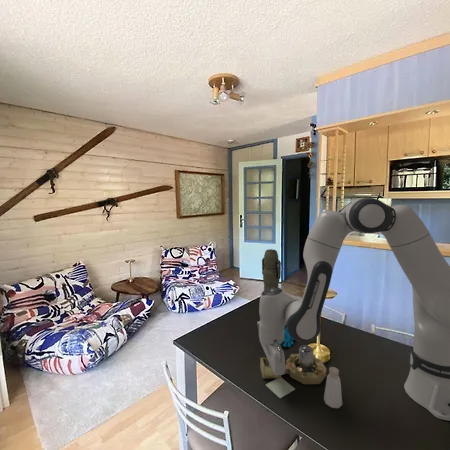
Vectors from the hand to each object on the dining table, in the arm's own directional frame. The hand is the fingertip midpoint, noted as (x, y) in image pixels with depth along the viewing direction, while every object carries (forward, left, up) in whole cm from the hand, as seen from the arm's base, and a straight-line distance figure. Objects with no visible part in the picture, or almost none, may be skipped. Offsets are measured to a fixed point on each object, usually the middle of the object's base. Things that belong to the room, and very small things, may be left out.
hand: (270, 368), depth 93 cm
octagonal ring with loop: (-7, -4, -2) cm, 8 cm away
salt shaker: (-21, +3, -3) cm, 21 cm away
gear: (0, -22, -3) cm, 22 cm away
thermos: (+15, -49, -3) cm, 51 cm away
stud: (-11, -7, -2) cm, 13 cm away
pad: (-5, +5, -2) cm, 7 cm away
